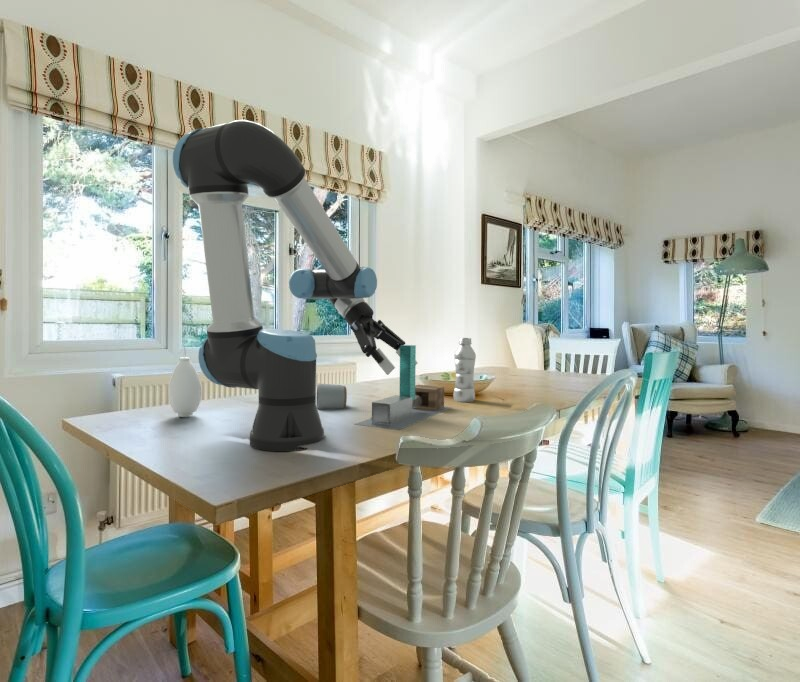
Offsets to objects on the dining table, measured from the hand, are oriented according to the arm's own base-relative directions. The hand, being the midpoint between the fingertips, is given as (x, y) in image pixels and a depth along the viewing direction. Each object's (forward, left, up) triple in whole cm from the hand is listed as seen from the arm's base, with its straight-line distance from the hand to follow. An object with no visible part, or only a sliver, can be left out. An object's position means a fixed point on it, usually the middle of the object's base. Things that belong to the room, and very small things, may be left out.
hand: (403, 368), depth 133 cm
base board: (-2, -2, -13) cm, 13 cm away
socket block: (+10, -2, -12) cm, 16 cm away
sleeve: (-10, -2, -12) cm, 15 cm away
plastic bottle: (+27, -7, -13) cm, 31 cm away
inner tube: (-4, -2, -10) cm, 11 cm away
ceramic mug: (-1, +23, -13) cm, 26 cm away
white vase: (-28, +49, -13) cm, 58 cm away
